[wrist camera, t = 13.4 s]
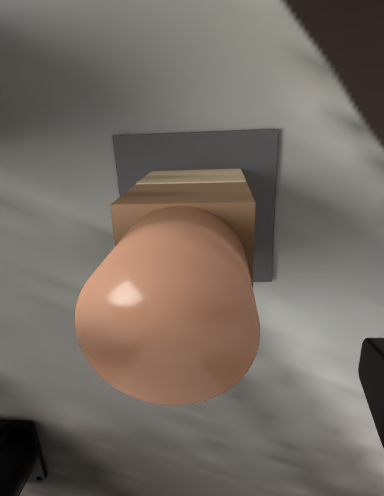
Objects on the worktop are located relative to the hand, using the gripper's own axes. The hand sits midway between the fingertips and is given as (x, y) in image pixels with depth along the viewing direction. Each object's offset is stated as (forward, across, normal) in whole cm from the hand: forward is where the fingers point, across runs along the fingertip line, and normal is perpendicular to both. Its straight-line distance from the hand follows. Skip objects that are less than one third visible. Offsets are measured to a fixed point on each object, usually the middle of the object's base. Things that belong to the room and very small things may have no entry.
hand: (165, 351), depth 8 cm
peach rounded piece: (+5, 0, 0) cm, 5 cm away
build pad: (+13, 0, 0) cm, 13 cm away
